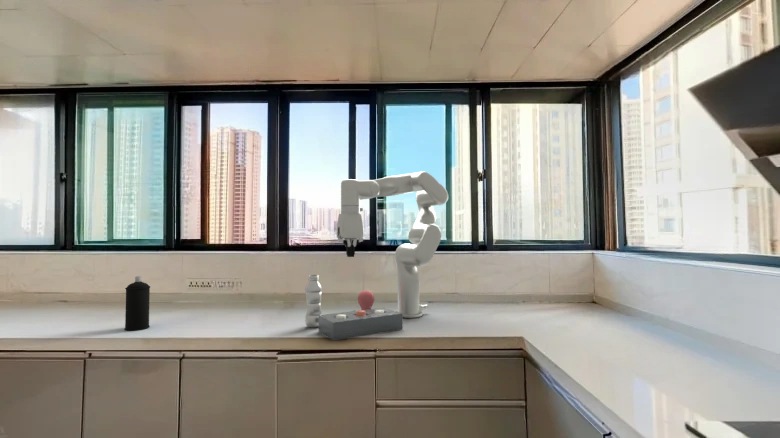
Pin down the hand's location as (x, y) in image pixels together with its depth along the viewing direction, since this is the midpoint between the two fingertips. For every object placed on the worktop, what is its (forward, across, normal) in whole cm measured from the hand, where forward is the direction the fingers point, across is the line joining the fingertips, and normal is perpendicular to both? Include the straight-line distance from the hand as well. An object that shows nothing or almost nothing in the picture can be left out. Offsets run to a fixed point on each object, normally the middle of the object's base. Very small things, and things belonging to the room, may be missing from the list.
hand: (350, 256), depth 152 cm
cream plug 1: (+27, +8, +9) cm, 29 cm away
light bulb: (+27, -11, -8) cm, 31 cm away
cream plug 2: (+27, -8, +9) cm, 29 cm away
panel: (+27, 0, +9) cm, 29 cm away
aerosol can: (+27, +72, -40) cm, 87 cm away
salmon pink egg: (+26, 0, +9) cm, 27 cm away
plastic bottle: (+27, +13, -6) cm, 31 cm away
